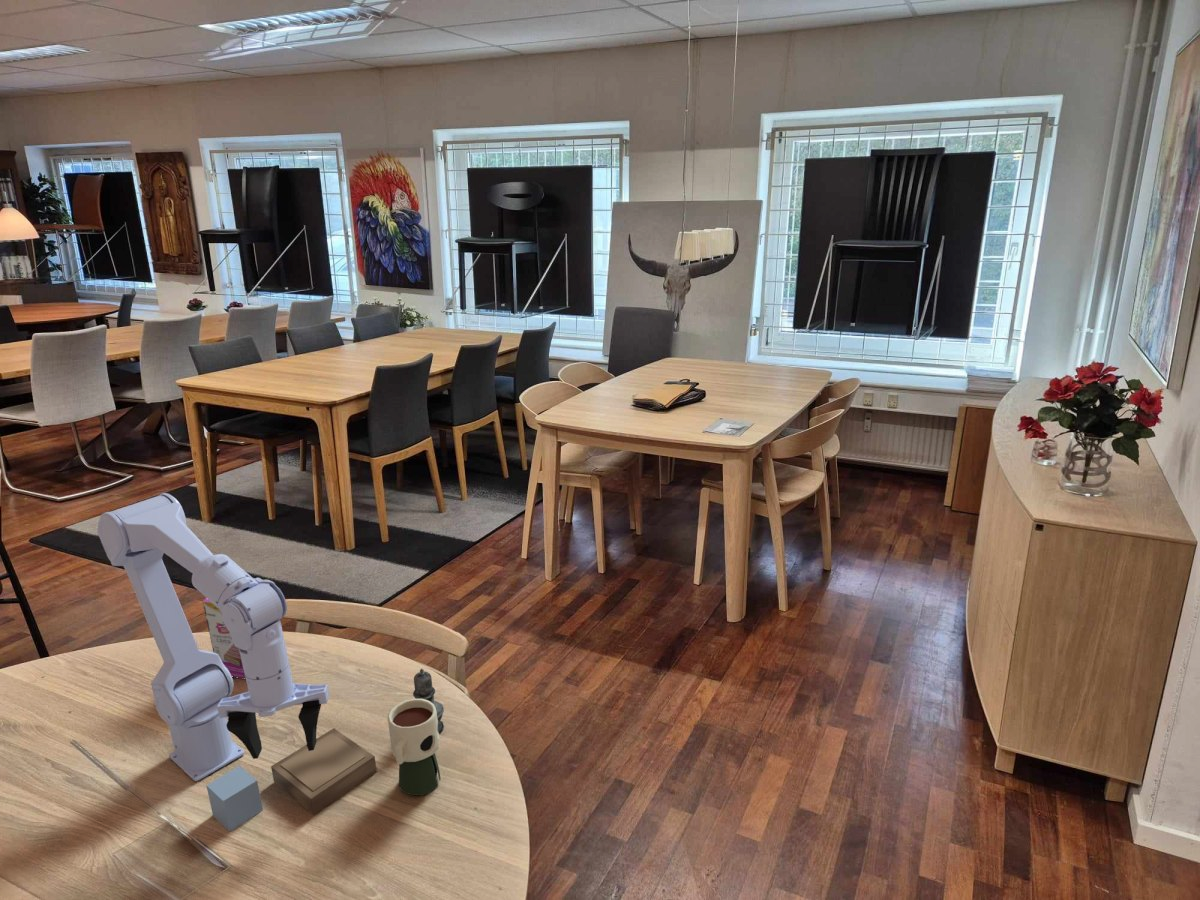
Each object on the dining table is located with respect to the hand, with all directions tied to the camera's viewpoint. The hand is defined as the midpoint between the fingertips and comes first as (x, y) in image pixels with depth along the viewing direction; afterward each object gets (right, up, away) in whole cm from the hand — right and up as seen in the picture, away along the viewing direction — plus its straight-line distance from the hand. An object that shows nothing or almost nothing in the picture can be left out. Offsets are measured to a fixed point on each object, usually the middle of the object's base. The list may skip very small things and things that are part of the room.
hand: (285, 750), depth 108 cm
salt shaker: (+16, -4, +19) cm, 26 cm away
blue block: (-8, -10, +2) cm, 13 cm away
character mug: (+18, -8, +7) cm, 21 cm away
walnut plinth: (+3, -8, +9) cm, 12 cm away
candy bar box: (-22, 0, +36) cm, 41 cm away
